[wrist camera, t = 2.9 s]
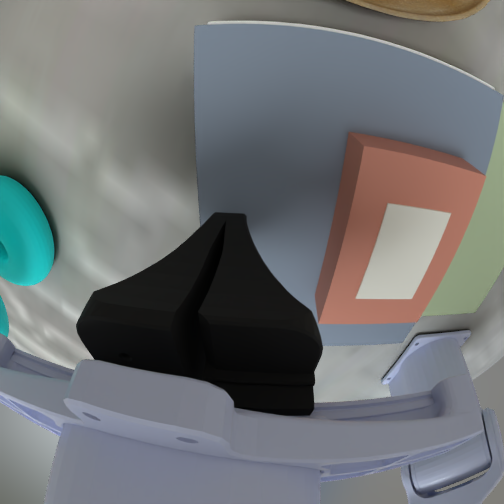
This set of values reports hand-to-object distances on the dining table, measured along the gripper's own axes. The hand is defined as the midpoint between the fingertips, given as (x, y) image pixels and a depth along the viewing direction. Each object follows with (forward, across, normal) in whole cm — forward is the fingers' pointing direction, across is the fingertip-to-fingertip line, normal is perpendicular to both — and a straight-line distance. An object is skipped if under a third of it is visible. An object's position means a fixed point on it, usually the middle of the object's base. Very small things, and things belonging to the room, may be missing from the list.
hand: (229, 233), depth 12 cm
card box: (+1, -8, 0) cm, 8 cm away
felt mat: (+4, -18, 0) cm, 18 cm away
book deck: (+4, -6, 0) cm, 7 cm away
